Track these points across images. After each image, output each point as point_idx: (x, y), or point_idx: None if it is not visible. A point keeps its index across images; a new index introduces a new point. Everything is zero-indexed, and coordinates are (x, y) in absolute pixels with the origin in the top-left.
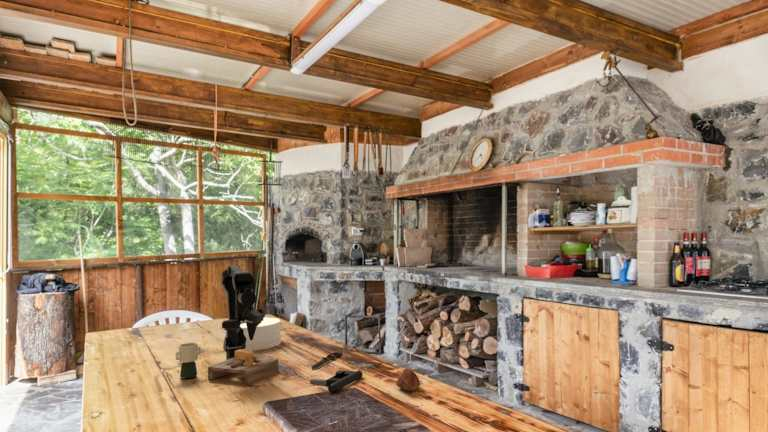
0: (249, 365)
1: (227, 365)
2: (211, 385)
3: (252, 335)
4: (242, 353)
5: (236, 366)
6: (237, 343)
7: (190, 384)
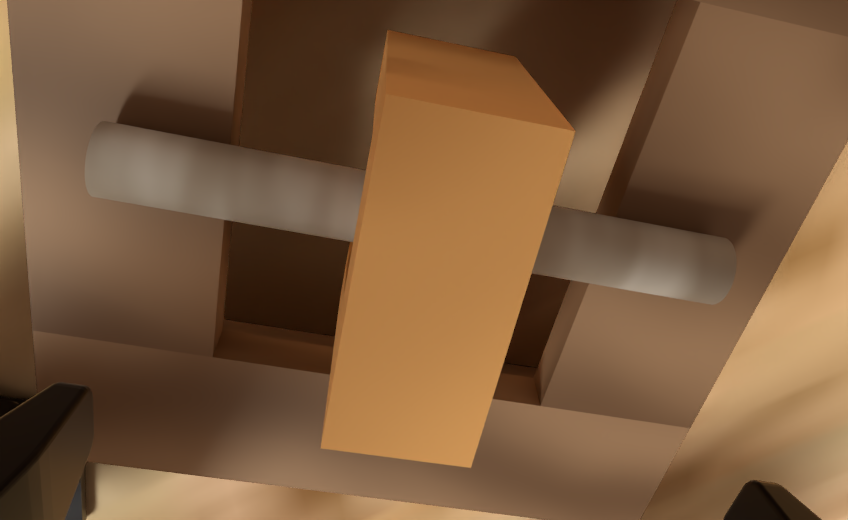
0: (493, 60)
1: (584, 360)
2: (794, 304)
3: (14, 490)
4: (520, 285)
5: (653, 213)
6: (785, 507)
7: (726, 485)
